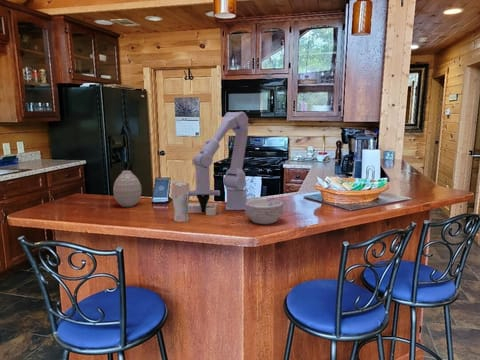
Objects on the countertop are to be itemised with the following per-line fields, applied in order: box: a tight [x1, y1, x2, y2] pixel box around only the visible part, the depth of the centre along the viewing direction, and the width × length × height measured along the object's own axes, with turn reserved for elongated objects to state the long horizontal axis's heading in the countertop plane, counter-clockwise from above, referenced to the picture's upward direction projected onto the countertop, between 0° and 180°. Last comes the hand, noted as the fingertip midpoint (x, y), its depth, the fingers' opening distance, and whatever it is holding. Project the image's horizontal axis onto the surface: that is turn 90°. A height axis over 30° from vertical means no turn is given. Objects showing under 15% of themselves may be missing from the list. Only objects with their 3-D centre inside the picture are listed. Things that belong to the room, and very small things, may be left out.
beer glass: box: [171, 182, 191, 223], centre depth 150 cm, size 7×7×15 cm
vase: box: [112, 170, 142, 208], centre depth 176 cm, size 13×13×17 cm
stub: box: [205, 206, 217, 216], centre depth 160 cm, size 4×5×3 cm
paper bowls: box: [244, 198, 284, 225], centre depth 149 cm, size 15×15×8 cm
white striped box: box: [188, 202, 218, 214], centre depth 166 cm, size 13×6×3 cm, turn 91°
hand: (203, 212), depth 160 cm, fingers closed
